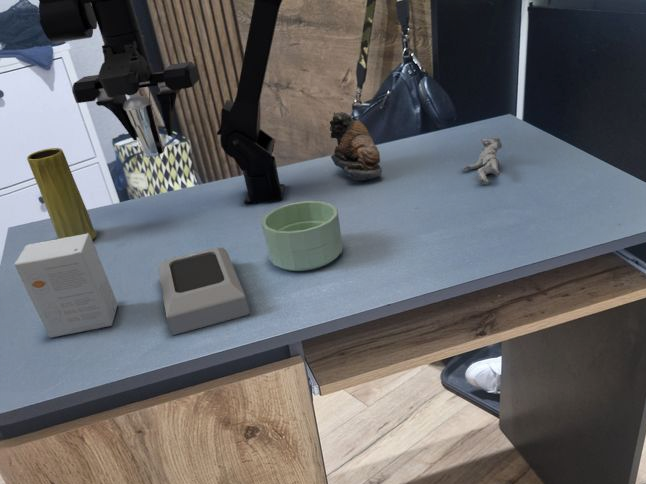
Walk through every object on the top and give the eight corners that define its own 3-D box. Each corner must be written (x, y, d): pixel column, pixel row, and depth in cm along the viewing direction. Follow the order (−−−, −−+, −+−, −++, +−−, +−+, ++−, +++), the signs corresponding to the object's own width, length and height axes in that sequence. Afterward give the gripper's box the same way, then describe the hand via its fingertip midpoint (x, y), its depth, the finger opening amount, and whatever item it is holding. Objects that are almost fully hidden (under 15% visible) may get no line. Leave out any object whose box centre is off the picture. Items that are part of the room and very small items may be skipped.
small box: (119, 305, 85) (91, 231, 79) (113, 327, 80) (82, 251, 74) (58, 316, 84) (25, 243, 78) (48, 339, 79) (12, 263, 73)
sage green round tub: (274, 244, 94) (266, 205, 91) (343, 236, 93) (338, 197, 90) (266, 277, 86) (257, 236, 82) (342, 269, 85) (335, 227, 82)
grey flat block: (163, 309, 74) (154, 258, 86) (172, 335, 76) (162, 282, 89) (243, 288, 76) (223, 240, 88) (250, 314, 78) (230, 264, 90)
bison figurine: (391, 178, 110) (386, 118, 104) (356, 189, 108) (348, 129, 102) (358, 162, 119) (351, 106, 114) (324, 172, 117) (316, 115, 111)
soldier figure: (463, 192, 104) (456, 147, 111) (484, 206, 106) (476, 160, 113) (499, 160, 99) (489, 114, 106) (520, 175, 101) (509, 130, 108)
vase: (61, 251, 102) (24, 163, 94) (57, 238, 106) (22, 154, 98) (100, 240, 104) (67, 153, 96) (94, 228, 108) (62, 144, 100)
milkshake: (164, 157, 104) (143, 93, 98) (135, 160, 105) (113, 97, 100) (176, 147, 107) (156, 85, 102) (148, 150, 109) (127, 89, 103)
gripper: (39, 52, 90) (80, 160, 99) (167, 33, 88) (197, 146, 97) (69, 38, 99) (104, 138, 108) (186, 21, 97) (212, 124, 106)
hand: (153, 137), depth 105 cm, fingers closed on milkshake, 5 cm apart
